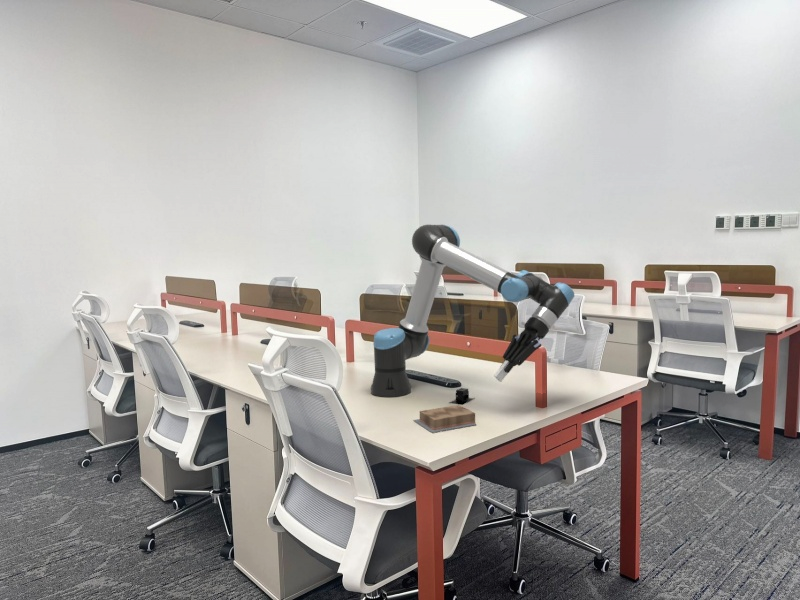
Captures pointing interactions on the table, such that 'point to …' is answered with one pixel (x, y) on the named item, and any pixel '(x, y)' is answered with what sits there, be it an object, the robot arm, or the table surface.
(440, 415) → the mottled brown tile
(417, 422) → the felt mat
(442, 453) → the table surface
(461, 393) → the black notched bracket mount
